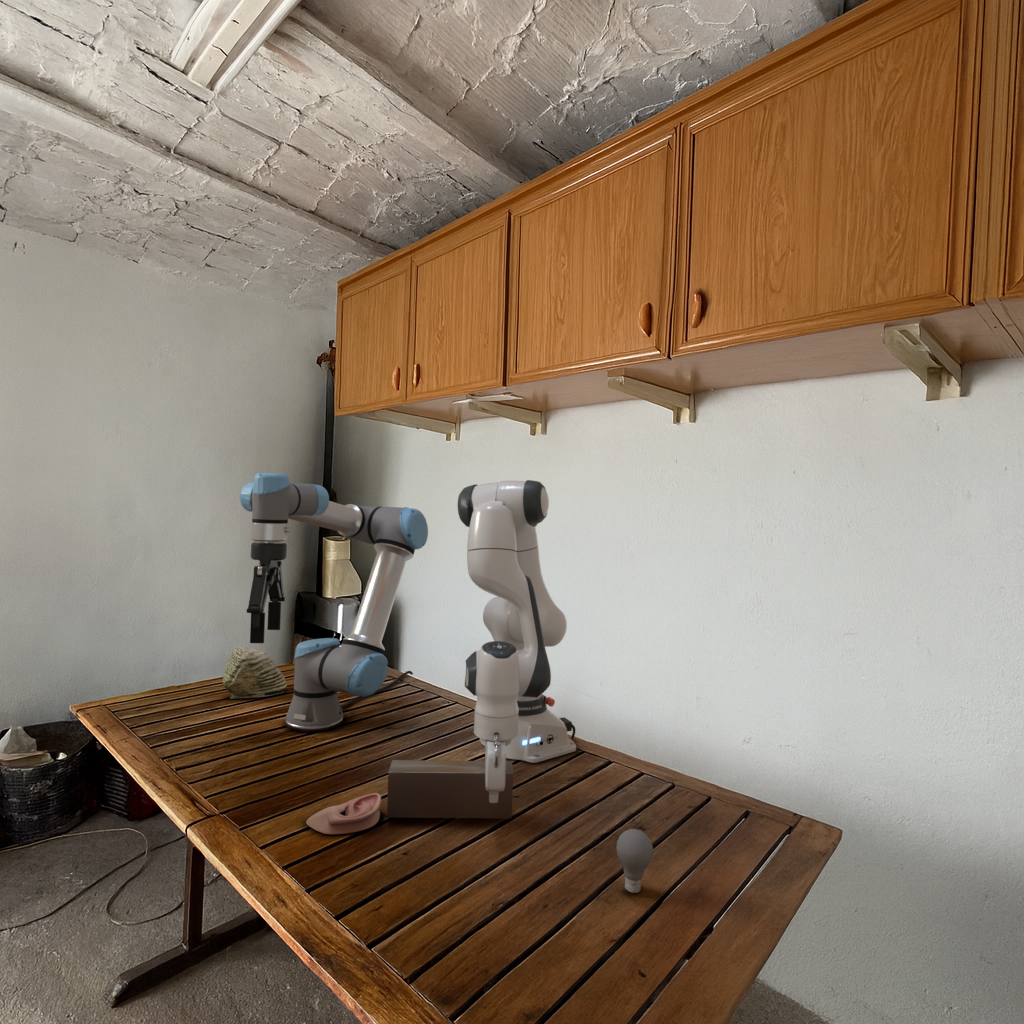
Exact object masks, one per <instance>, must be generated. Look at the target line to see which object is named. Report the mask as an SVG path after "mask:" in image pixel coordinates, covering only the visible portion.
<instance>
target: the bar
mask: <svg viewBox="0 0 1024 1024" xmlns="http://www.w3.org/2000/svg"><path fill="white" fill-rule="evenodd" d="M513 791H514V769H513V761H511V760H510V761H509V760H506V775H505V789H504V791H501V792H499V794H498V802H497V803H490V802H489V791H487V790H486V786H485V760H436V759H435V760H432V759H431V760H429V759H428V760H426V759H425V760H424V759H423V760H422V759H392V760H391V763H390V766H389V769H388V773H387V800H386V801H387V804H386V807H387V808H386V818H388V819H389V818H393V819H395V818H396V819H397V818H398V819H405V818H406V819H513V793H514V792H513Z"/></svg>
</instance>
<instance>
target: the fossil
mask: <svg viewBox="0 0 1024 1024" xmlns="http://www.w3.org/2000/svg"><path fill="white" fill-rule="evenodd" d="M222 676H223V677H222V685H223V687H224V688H225V690H226V691H228V693H229V698H230V699H250V698H264V697H271V696H275V695H281V694H284V693H285V691H286V689H287V687H288V686H287V680H286V678H285V676H284V674H283V673H282V672H281V669H279V668H278V667H277V665H276V663H275V662H274V660H273V659H272V658H271V657H270V656H269V655H268V654H267V653H266V652H265V650H264V649H263V648H260V647H258V648H251V647H247V646H246V647H245V646H238V647H237V648H236V649H235V650H233V651H232V653H231V656H230V657H229V659H228V660H227V663H226V666H225V668H224V671H223V675H222Z"/></svg>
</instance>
